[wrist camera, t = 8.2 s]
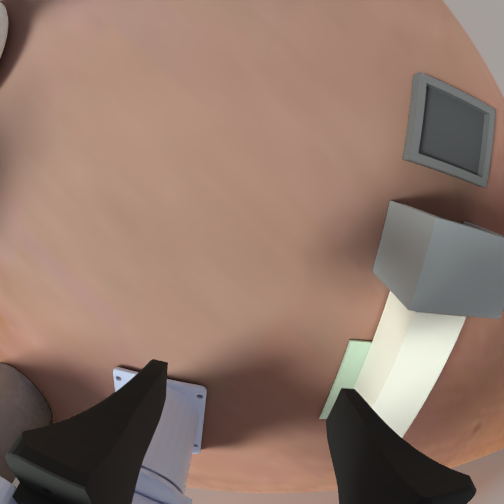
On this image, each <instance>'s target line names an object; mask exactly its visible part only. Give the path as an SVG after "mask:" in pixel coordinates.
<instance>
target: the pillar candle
mask: <svg viewBox="0 0 504 504" xmlns="http://www.w3.org/2000/svg"><path fill="white" fill-rule="evenodd" d="M51 420H52V414H51V410H50V408H49V405H48V403H47V402H46V400H45V399H44V396H43V395H42V394H41V392H40V391H39V390H38V389H37V388H36V386H35V385H34V384H33V383H32V382H31V381H30V380H29V379H28V378H27V377H26V376H24V375H23V374H22V373H21V372H19V371H18V370H16V369H15V368H14V367H12V366H10V365H7V364H5V363H0V476H1V477H2V478H4V479H6V480H7V481H9V482H10V483H11V484H12V483H13V481H14V479H15V477H16V476H15V474H14V473H13V472H12V470H11V469H10V467H9V465H8V463H7V461H6V457H5V455H6V454H7V452H8V451H9V449H10V448H11V446H12V445H13V443H14V442H15V440H16V439H17V437H18V436H19V435H20V434H21V433H22V432H23V431H26V430H31V429H36V428H41V427H45V426H49V425H50V424H51V423H52V421H51Z"/></svg>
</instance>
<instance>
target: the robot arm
mask: <svg viewBox="0 0 504 504" xmlns="http://www.w3.org/2000/svg"><path fill="white" fill-rule="evenodd" d="M167 365H168V363H167V362H163V361H158V360H154V359H153V360H151V361H150V362H149V363H148V364H147V365H146V366H145V367H144V368H143V369H142V370H141V371H140V372H135V371H132V370H128V369H124V368H120V367H115V368H114V370H113V378H114V386H115V392H114V393H113V394H112V395H110V396H109V397H108V398H106V399H105V400H103V401H102V402H100V403H98V404H97V405H95V406H93V407H91V408H90V409H88V410H86V411H84V412H82V413H80V414H78V415H76V416H74V417H71V418H69V419H66V420H63V421H61V422H58V423H55V424H52V425H49V426H45V427H41V428H36V429H31V430H26V431H23V432H22V433H21V434H20V435H19V436H18V437H17V439H16V440H15V442H14V443H13V445H12V446H11V448H10V449H9V451H8V452H7V454H6V455H5V457H6V461H7V463H8V465H9V467H10V469H11V470H12V472H13V473H14V474H15V476H16V477H17V478H18V480H19V482H20V484H19V485H18V487H17V488H16V487H15V486H14V485H12V484H11V483H10V482H9V481H7V480H6V479H4V478H2V477H1V476H0V504H192V499H190V498H188V497H186V496H184V491H185V487H186V481H187V476H188V471H189V466H190V461H191V456H192V453H193V454H199V453H200V450H201V440H202V431H203V421H204V412H205V403H206V395H207V389H206V388H205V387H204V386H201V385H196V384H190V383H185V382H180V381H175V380H170V379H167ZM118 376H119V377H120V378H119V377H118ZM199 395H202V396H199ZM326 426H327V438H328V444H329V449H330V453H331V457H332V462H333V466H334V471H335V475H336V479H337V485H338V493H339V504H467V503H468V502H469V501H470V500H471V499H472V498H473V496H474V495H475V493H476V488H475V486H474V484H473V482H472V480H471V478H470V476H468V475H466V474H463V473H460V472H457V471H455V470H452V469H450V468H448V467H446V466H444V465H441V464H439V463H438V462H436V461H434V460H432V459H430V458H429V457H427V456H426V455H424V454H422V453H421V452H419V451H418V450H416V449H415V448H414V447H412V446H411V445H410V444H409V443H407V442H406V441H405V440H403V439H402V438H401V437H400V436H399V435H398V434H397V433H396V432H395V431H393V430H392V429H391V428H390V427H389V426H388V425H387V424H386V423H385V422H384V421H383V420H382V419H381V418H380V416H379V415H378V414H377V413H376V412H375V411H374V410H373V409H372V408H371V407H370V405H369V404H368V403H367V402H366V401H365V400H364V399H363V397H362V396H361V395H360V394H359V393H358V392H357V391H356V390H355V389H350V388H341V390H340V392H339V394H338V397H337V399H336V401H335V403H334V405H333V407H332V409H331V411H330V413H329V415H328V417H327V419H326Z"/></svg>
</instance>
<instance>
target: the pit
mask: <svg viewBox="0 0 504 504" xmlns="http://www.w3.org/2000/svg"><path fill="white" fill-rule="evenodd" d="M494 124H495V109H493V108H492V107H490V106H488V105H486V104H485V103H483V102H481V101H479V100H477V99H476V98H474V97H472V96H470V95H468V94H466V93H464V92H462V91H460V90H458V89H456V88H454V87H452V86H450V85H448V84H446V83H444V82H441V81H439V80H437V79H435V78H432V77H430V76H428V75H426V74H423V73H421V72H419V73H417V74H415V75H413V83H412V93H411V103H410V111H409V119H408V127H407V134H406V141H405V147H404V153H403V160H406V161H409V162H412V163H416V164H419V165H422V166H425V167H428V168H431V169H434V170H437V171H439V172H442V173H445V174H448V175H451V176H453V177H456V178H459V179H461V180H464V181H467V182H469V183H472V184H474V185H477V186H480V187H485V188H486V187H487V181H488V175H489V168H490V161H491V154H492V145H493V136H494Z"/></svg>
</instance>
